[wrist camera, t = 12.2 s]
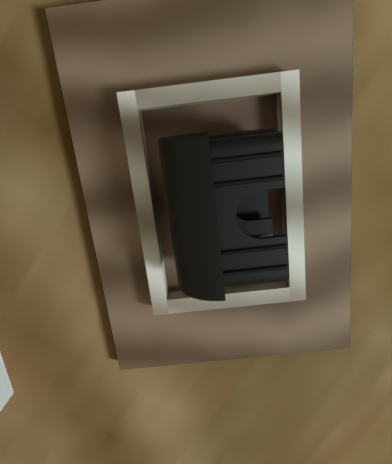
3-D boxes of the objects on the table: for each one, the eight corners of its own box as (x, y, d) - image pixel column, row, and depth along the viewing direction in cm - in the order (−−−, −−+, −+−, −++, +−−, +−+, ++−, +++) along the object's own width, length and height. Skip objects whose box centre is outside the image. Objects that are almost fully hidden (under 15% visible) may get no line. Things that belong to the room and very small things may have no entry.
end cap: (162, 137, 24) (150, 137, 18) (261, 125, 24) (285, 121, 18) (180, 266, 27) (175, 307, 20) (269, 256, 27) (293, 295, 20)
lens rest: (52, 14, 23) (33, -1, 21) (345, -25, 23) (365, -46, 20) (122, 361, 31) (116, 381, 28) (343, 339, 30) (357, 358, 28)
